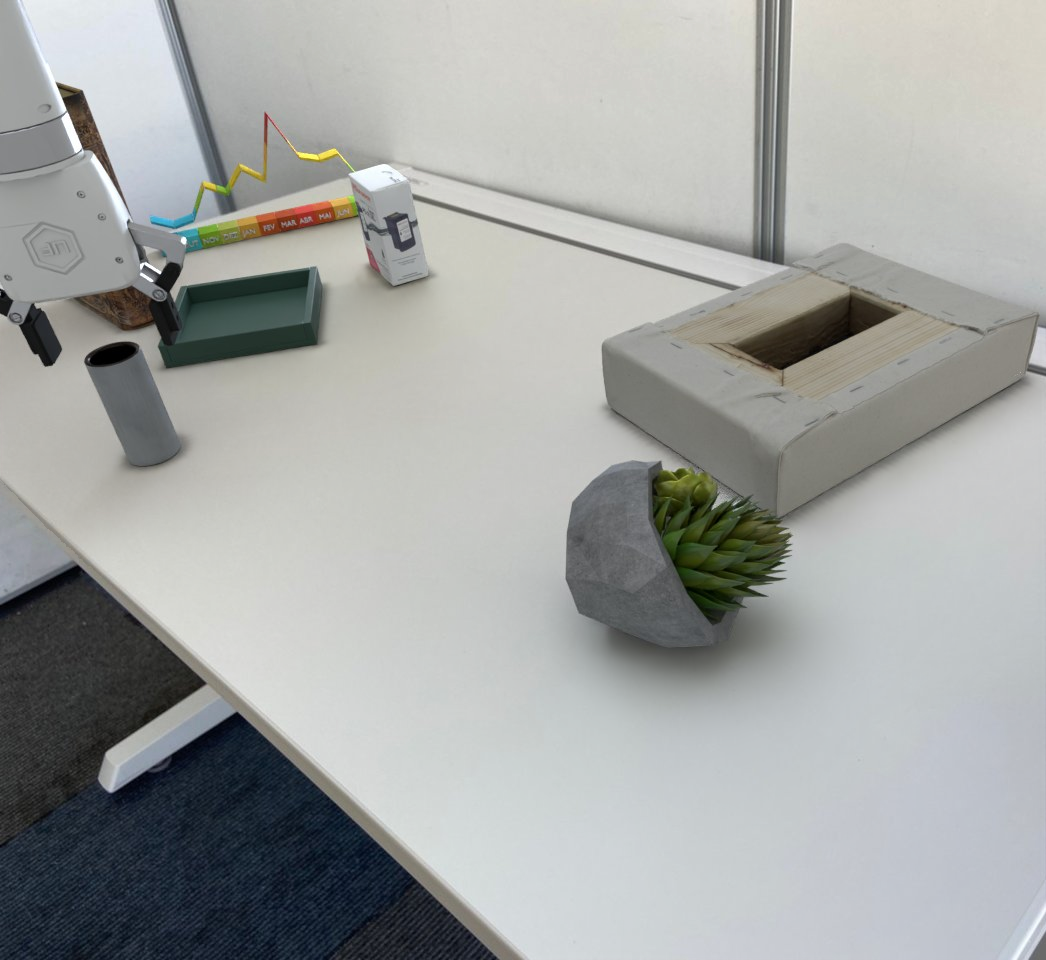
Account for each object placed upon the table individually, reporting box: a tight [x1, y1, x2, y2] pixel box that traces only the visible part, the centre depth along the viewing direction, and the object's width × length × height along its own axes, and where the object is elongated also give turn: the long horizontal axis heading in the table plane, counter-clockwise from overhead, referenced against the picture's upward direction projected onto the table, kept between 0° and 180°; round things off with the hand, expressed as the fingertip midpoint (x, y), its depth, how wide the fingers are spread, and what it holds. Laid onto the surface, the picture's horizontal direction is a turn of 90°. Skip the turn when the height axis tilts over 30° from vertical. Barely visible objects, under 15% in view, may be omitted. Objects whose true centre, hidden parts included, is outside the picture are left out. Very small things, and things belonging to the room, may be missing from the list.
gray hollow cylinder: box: [83, 340, 181, 467], centre depth 86 cm, size 4×4×10 cm
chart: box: [149, 111, 359, 257], centre depth 130 cm, size 30×3×15 cm, turn 115°
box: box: [601, 242, 1041, 519], centre depth 88 cm, size 23×8×32 cm
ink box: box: [347, 163, 430, 287], centre depth 116 cm, size 8×5×12 cm, turn 32°
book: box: [55, 81, 155, 331], centre depth 109 cm, size 16×6×25 cm, turn 47°
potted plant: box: [565, 460, 794, 649], centre depth 64 cm, size 12×13×15 cm
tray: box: [157, 265, 323, 369], centre depth 109 cm, size 16×16×3 cm
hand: (113, 348), depth 83 cm, fingers open, 9 cm apart
